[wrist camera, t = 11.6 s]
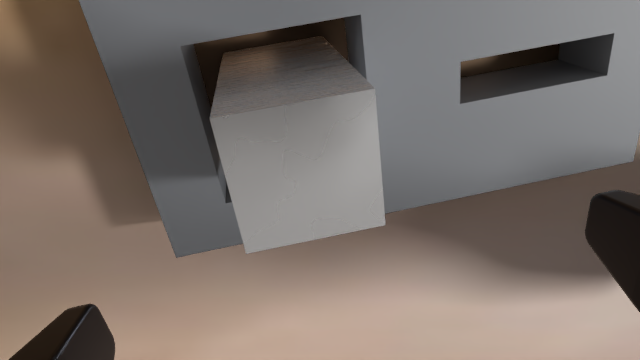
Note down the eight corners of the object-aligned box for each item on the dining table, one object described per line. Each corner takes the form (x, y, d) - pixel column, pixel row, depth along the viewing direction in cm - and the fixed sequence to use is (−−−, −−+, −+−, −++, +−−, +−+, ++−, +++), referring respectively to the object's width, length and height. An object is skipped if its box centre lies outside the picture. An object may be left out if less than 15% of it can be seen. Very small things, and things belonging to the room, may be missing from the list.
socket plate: (585, 136, 22) (633, 161, 19) (185, 218, 20) (176, 257, 18) (623, -99, 17) (693, -110, 14) (104, -14, 15) (75, -8, 13)
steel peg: (333, 128, 19) (385, 224, 12) (245, 144, 19) (246, 253, 12) (321, 35, 17) (374, 88, 10) (223, 52, 17) (209, 118, 10)
